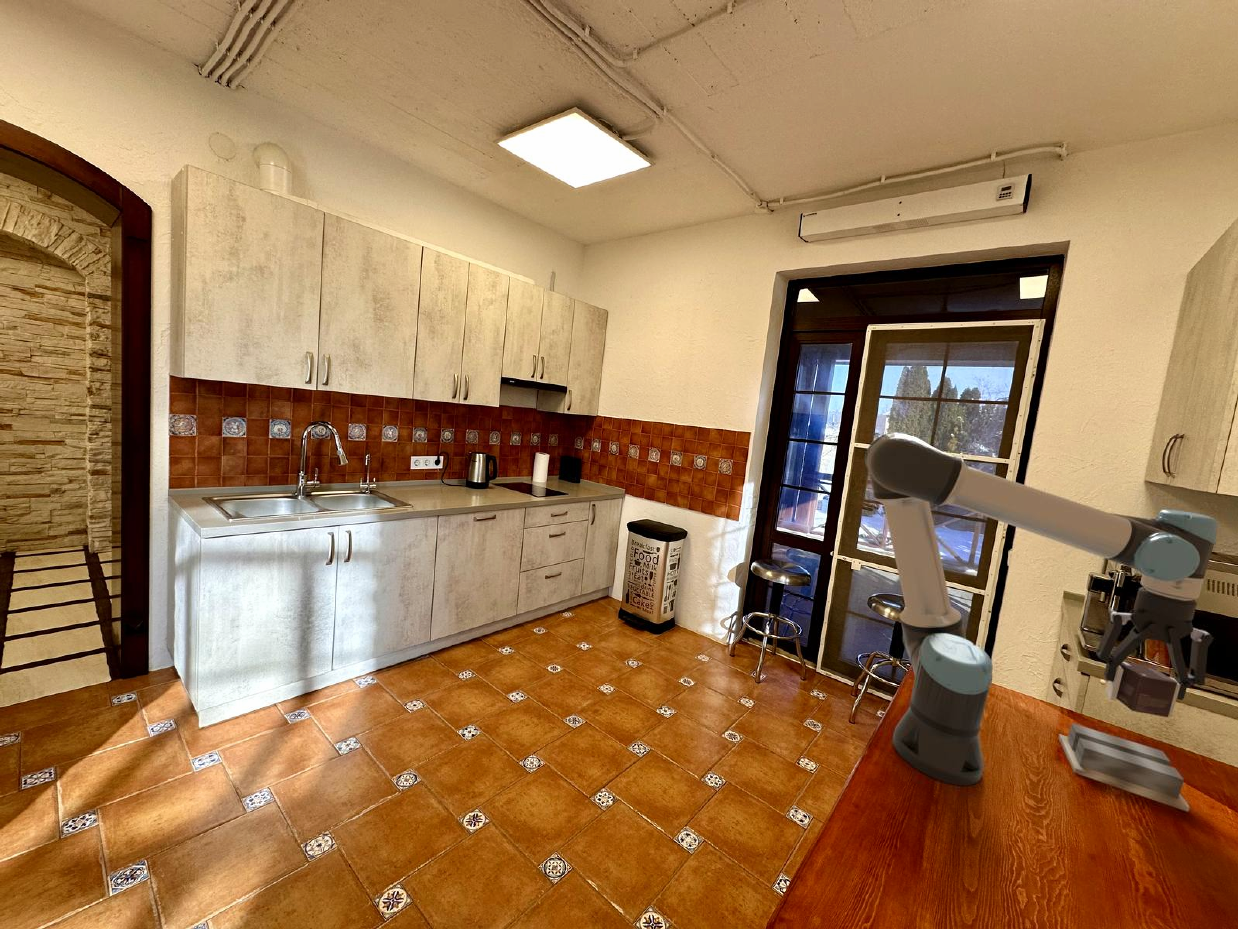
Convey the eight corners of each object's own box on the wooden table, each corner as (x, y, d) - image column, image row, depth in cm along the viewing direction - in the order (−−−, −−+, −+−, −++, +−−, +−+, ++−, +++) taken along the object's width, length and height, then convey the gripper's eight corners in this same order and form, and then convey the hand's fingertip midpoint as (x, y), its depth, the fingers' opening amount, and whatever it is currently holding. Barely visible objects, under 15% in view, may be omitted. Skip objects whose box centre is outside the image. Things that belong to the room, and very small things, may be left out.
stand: (1074, 772, 99) (1080, 749, 98) (1058, 738, 110) (1063, 717, 109) (1188, 812, 92) (1195, 787, 91) (1159, 771, 102) (1166, 748, 101)
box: (1169, 719, 94) (1179, 683, 93) (1131, 711, 96) (1140, 676, 94) (1143, 700, 100) (1152, 666, 99) (1108, 693, 101) (1116, 659, 100)
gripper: (1103, 584, 96) (1075, 694, 100) (1259, 616, 86) (1222, 736, 90) (1091, 573, 102) (1065, 676, 106) (1234, 601, 93) (1201, 714, 96)
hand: (1137, 704), depth 98 cm, fingers closed on box, 7 cm apart
